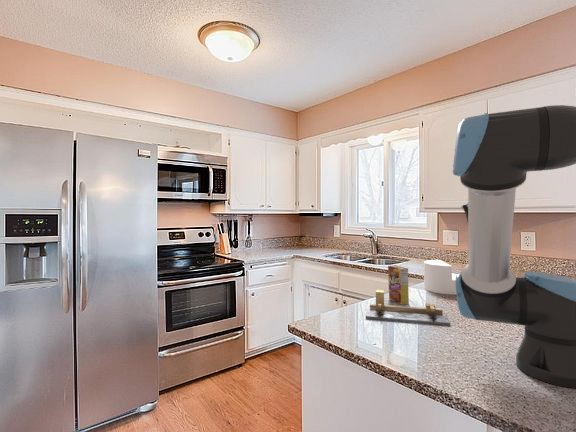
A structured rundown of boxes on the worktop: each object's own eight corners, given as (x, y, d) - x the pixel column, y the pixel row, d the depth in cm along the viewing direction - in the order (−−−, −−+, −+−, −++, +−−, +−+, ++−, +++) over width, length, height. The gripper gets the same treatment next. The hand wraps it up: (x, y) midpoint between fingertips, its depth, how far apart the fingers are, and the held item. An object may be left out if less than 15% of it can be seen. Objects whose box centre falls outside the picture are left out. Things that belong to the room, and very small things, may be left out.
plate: (450, 325, 111) (450, 322, 111) (365, 318, 119) (365, 315, 119) (446, 318, 119) (446, 315, 119) (367, 312, 127) (367, 309, 127)
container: (475, 295, 151) (475, 266, 151) (429, 293, 155) (429, 265, 155) (460, 285, 171) (460, 260, 171) (420, 284, 174) (419, 259, 174)
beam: (445, 322, 114) (445, 309, 114) (369, 316, 122) (368, 304, 122) (441, 314, 123) (441, 302, 123) (370, 309, 131) (370, 298, 131)
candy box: (387, 299, 145) (387, 265, 145) (396, 299, 146) (395, 264, 146) (400, 305, 136) (400, 268, 136) (409, 304, 137) (408, 268, 137)
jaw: (383, 316, 120) (383, 296, 120) (375, 315, 121) (375, 295, 121) (384, 309, 129) (384, 290, 129) (376, 308, 130) (376, 289, 130)
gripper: (502, 183, 109) (502, 254, 109) (458, 184, 113) (459, 253, 113) (510, 181, 102) (510, 257, 102) (463, 183, 105) (464, 256, 106)
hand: (483, 255), depth 107 cm, fingers closed
